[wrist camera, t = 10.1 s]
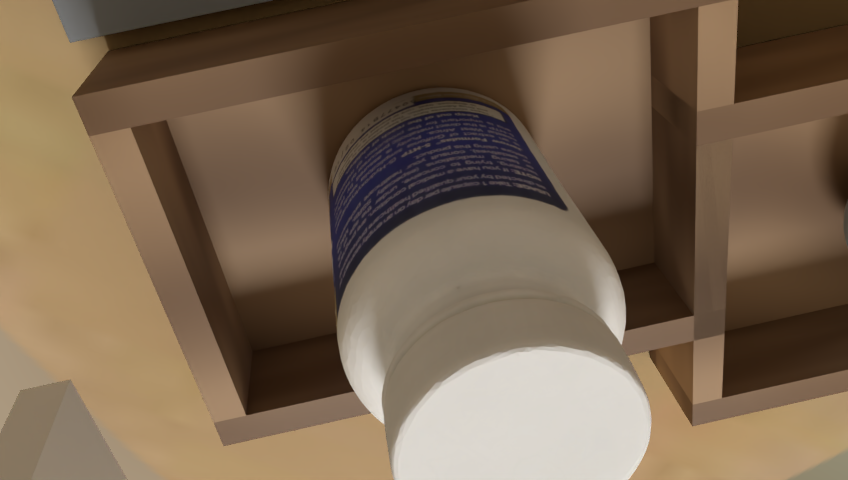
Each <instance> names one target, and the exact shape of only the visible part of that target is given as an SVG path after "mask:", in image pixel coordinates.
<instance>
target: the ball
mask: <svg viewBox="0 0 848 480" xmlns="http://www.w3.org/2000/svg"><path fill="white" fill-rule="evenodd" d="M843 227H844V235H845V240H846V244H847V247H848V201H847V203H846V206H845V211H844V223H843Z"/></svg>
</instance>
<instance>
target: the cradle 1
mask: <svg viewBox="0 0 848 480" xmlns="http://www.w3.org/2000/svg"><path fill="white" fill-rule="evenodd" d="M737 18H738V0H349V1H344V2H339V3H335V4H330V5H325V6H320V7H316V8H311V9H306V10H301V11H297V12H292V13H287V14H282V15H278V16H273V17H268V18H263V19H259V20H254V21H249V22H244V23H239V24H235V25H230V26H225V27H220V28H216V29H211V30H206V31H201V32H197V33H192V34H187V35H182V36H178V37H173V38H168V39H163V40H158V41H154V42H149V43H144V44H139V45H135V46H130V47H125V48H120V49H116V50H111V51H108V52H107V53H106V55H105V56H104V57H103V58H102V60H101V61H100V62H99V63H98V65H97V66H96V67H95V69H94V70H93V71H92V72H91V74H90V75H89V76H88V77H87V79H86V80H85V81H84V82H83V84H82V85H81V86H80V87H79V89H78V90H77V91H76V93H75V94H74V95H73V96H72V99H73V101H74V103H75V106H76V108H77V110H78V112H79V115H80V117H81V119H82V122H83V124H84V126H85V128H86V131H87V133H88V135H89V138H90V140H91V142H92V145H93V147H94V149H95V151H96V154H97V156H98V158H99V161H100V163H101V165H102V168H103V170H104V172H105V174H106V177H107V179H108V181H109V184H110V186H111V188H112V190H113V193H114V195H115V197H116V200H117V202H118V204H119V207H120V209H121V211H122V213H123V216H124V218H125V220H126V223H127V225H128V227H129V230H130V232H131V234H132V236H133V239H134V241H135V243H136V246H137V248H138V250H139V252H140V255H141V257H142V259H143V262H144V264H145V266H146V269H147V271H148V273H149V275H150V278H151V280H152V282H153V285H154V287H155V289H156V292H157V294H158V296H159V298H160V301H161V303H162V305H163V308H164V310H165V312H166V314H167V317H168V319H169V321H170V324H171V326H172V328H173V331H174V333H175V335H176V337H177V340H178V342H179V344H180V347H181V349H182V351H183V354H184V356H185V358H186V360H187V363H188V365H189V367H190V370H191V372H192V374H193V376H194V379H195V381H196V383H197V386H198V388H199V390H200V393H201V395H202V397H203V399H204V402H205V404H206V406H207V409H208V411H209V413H210V416H211V418H212V420H213V422H214V425H215V427H216V429H217V432H218V434H219V436H220V439H221V441H222V443H223V445H224V446H226V445H231V444H235V443H240V442H244V441H249V440H253V439H257V438H262V437H266V436H271V435H275V434H280V433H284V432H289V431H293V430H298V429H302V428H307V427H311V426H315V425H320V424H324V423H329V422H333V421H338V420H342V419H347V418H351V417H356V416H360V415H365V414H369V413H371V412H370V411H369V410H368V409H367V408H366V407H365V406H364V404H363V403H362V402H361V401H360V399H359V398H358V396H357V395H356V393H355V392H354V390H353V388H352V387H351V385H350V383H349V381H348V378H347V376H346V374H345V371H344V368H343V365H342V361H341V357H340V352H339V346H338V340H337V328H336V315H335V296H334V282H333V270H332V247H331V232H330V218H329V199H328V192H329V179H330V174H331V170H332V166H333V163H334V160H335V158H336V155H337V153H338V151H339V149H340V147H341V145H342V143H343V142H344V140H345V138H346V137H347V135H348V134H349V133H350V132H351V130H352V129H353V128H354V127H355V126H356V125H357V124H358V123H359V122H360V121H361V120H362V119H363V118H364V117H365V116H366V115H367V114H369V113H370V112H371V111H373V110H374V109H376V108H377V107H379V106H380V105H382V104H383V103H385V102H387V101H389V100H391V99H393V98H395V97H398V96H400V95H403V94H406V93H409V92H412V91H417V90H421V89H427V88H443V87H446V88H457V89H463V90H468V91H472V92H475V93H478V94H481V95H484V96H486V97H489V98H491V99H493V100H494V101H496V102H498V103H500V104H501V105H503V106H504V107H506V108H507V109H508V110H509V111H510V112H512V113H513V114H514V115H515V116H516V117H517V118H518V119H519V120H520V121H521V123H522V124H523V125H524V127H525V128H526V129H527V131H528V132H529V134H530V135H531V137H532V139H533V140H534V142H535V143H536V145H537V147H538V148H539V149H540V151H541V153H542V154H543V156H544V157H545V159H546V160H547V163H548V164H549V166H550V167H551V169H552V170H553V172H554V174H555V175H556V177H557V178H558V180H559V181H560V183H561V184H562V186H563V187H564V189H565V190H566V192H567V193H568V195H569V196H570V198H571V199H572V201H573V202H574V204H575V205H576V206H577V208H578V209H579V211H580V212H581V214H582V215H583V217H584V218H585V220H586V221H587V223H588V224H589V226H590V227H591V229H592V230H593V231H594V233H595V234H596V236H597V237H598V239H599V240H600V242H601V243H602V245H603V246H604V248H605V249H606V251H607V252H608V254H609V256H610V258H611V260H612V262H613V264H614V265H615V267H616V270H617V272H618V275H619V278H620V281H621V284H622V287H623V291H624V297H625V305H626V325H625V331H624V336H623V342H622V347H623V349H624V350H625V352H626V354H627V356H628V355H633V354H637V353H641V352H646V351H650V350H655V349H659V348H664V347H668V346H673V345H677V344H682V343H686V342H691V341H695V340H699V339H704V338H705V337H706V336H707V337H706V338H708V337H710V336H711V335H712V334H713V333H714V332H715V333H716V331H717V333H719V332H721V331H722V332H721V333H719V335H722V334H725V331H724V330H721V329H720V328H722V327H724V326H725V324H724V323H723V322H724V321H725V320H724V319H725V315H724V312H723V311H722V314H723V315H724V316H723V317H721V315H722V314H721V312H720V313H718V312H719V310H720V309H721V308H720V309H719V310H717V309H718V308H716V307H715V306H714V307H715V308H716V310H717V311H718V312H717V311H714V313H715V314H714V316H713V315H712V314H713V313H712V312H711V313H712V314H711V315H710V314H709V313H710V312H709V313H708V314H709V315H707V313H704V314H705V315H704V314H702V315H701V314H699V316H698V315H696V316H697V317H695V316H694V304H695V303H694V295H695V294H694V285H695V281H696V280H695V272H697V271H695V263H696V262H695V240H697V239H695V231H696V230H695V216H696V208H698V207H696V199H697V198H696V190H697V189H696V158H697V157H696V149H697V148H696V147H697V112H698V111H703V110H708V109H712V108H717V107H722V106H726V105H731V104H734V91H735V67H736V42H737ZM651 75H652V76H653V77H654V78H656V79H657V80H658V81H659V82H661V83H662V84H663V85H664V86H666V87H667V88H668V89H669V90H671V91H672V92H673V93H674V94H675V96H678V97H679V98H677V100H678V102H677V104H676V105H675V106H676V107H677V109H678V110H679V111H678V112H677V110H676V111H675V108H676V107H675V108H674V110H673V112H674V113H673V114H674V116H675V115H676V117H678V118H677V119H676V121H674V120H675V119H674V120H673V121H672V124H673V122H674V123H675V125H674V124H673V125H672V124H671V123H670V122H669V120H667V119H665V118H664V117H663V116H662V115H661V114H660V113H659V112H658V111H656V110H655V109H654V108H653V107H652V106H651ZM673 96H674V95H673ZM670 98H671V97H670ZM674 98H675V97H674ZM674 98H673V99H674ZM679 99H680V100H679ZM669 100H670V99H669ZM674 100H675V99H674ZM674 100H673V101H674ZM677 100H676V101H677ZM670 101H671V100H670ZM673 101H672V102H673ZM680 101H681V102H680ZM683 103H684V104H683ZM672 104H673V103H672ZM672 104H671V105H672ZM674 104H675V103H674ZM679 104H680V105H679ZM681 104H683V105H681ZM677 105H679V107H678V106H677ZM673 107H674V106H673ZM681 107H682V108H681ZM680 108H681V109H680ZM671 110H672V109H671ZM681 110H682V111H681ZM675 112H677V113H675ZM680 112H681V113H682V114H681V113H680ZM671 114H672V113H671ZM671 114H670V115H671ZM679 114H680V115H679ZM672 116H673V115H672ZM674 116H673V118H674ZM669 117H671V116H669ZM678 119H679V120H678ZM670 120H671V119H670ZM678 121H679V122H678ZM680 121H681V122H680ZM677 122H678V123H677ZM731 122H732V121H731ZM678 125H679V126H678ZM675 126H677V128H676V127H675ZM709 133H710V132H709ZM728 143H729V142H728ZM723 144H725V143H723ZM710 145H711V143H710ZM718 145H719V144H718ZM701 146H703V145H701ZM712 146H714V145H712ZM699 147H700V146H699ZM704 147H705V145H704ZM706 147H708V146H706ZM706 147H705V148H706ZM700 148H701V151H703V150H702V147H700ZM705 148H704V149H705ZM726 148H728V147H726ZM710 149H711V148H710ZM721 149H722V148H721ZM698 150H699V149H698ZM698 150H697V151H698ZM715 150H717V149H715ZM701 151H700V152H701ZM708 151H711V150H707V152H708ZM700 152H698V153H700ZM705 152H706V150H705V151H704V152H703V153H705ZM730 152H731V151H730ZM698 153H697V154H698ZM703 153H701V154H703ZM711 153H712V152H711ZM724 153H726V152H724ZM718 154H720V153H718ZM699 155H700V154H699ZM705 155H706V154H705ZM712 155H714V154H712ZM707 156H709V155H708V154H707ZM707 156H706V157H707ZM698 157H699V156H698ZM701 157H703V156H701ZM709 157H710V156H709ZM709 157H708V159H709ZM711 157H712V156H711ZM727 157H728V156H727ZM722 158H723V157H722ZM704 159H705V158H704ZM715 159H717V158H715ZM699 160H700V159H699ZM710 160H711V162H712V159H711V158H710ZM702 161H703V158H702ZM729 161H730V160H729ZM731 161H732V160H731ZM699 162H701V161H699ZM707 162H708V161H707ZM709 162H710V161H709ZM724 162H726V161H724ZM702 163H704V162H702ZM718 163H720V162H718ZM706 164H707V163H706ZM706 164H705V165H706ZM711 164H712V163H711ZM713 164H715V163H713ZM698 165H700V164H698ZM701 165H702V164H701ZM702 166H703V165H702ZM727 166H729V165H727ZM697 167H698V166H697ZM699 167H701V166H699ZM703 167H704V166H703ZM711 167H712V165H711ZM721 167H723V166H721ZM705 168H706V167H705ZM705 168H704V169H705ZM708 168H709V164H708ZM716 168H718V167H716ZM710 169H711V168H710ZM712 169H713V168H712ZM699 170H700V169H699ZM702 170H703V169H702ZM705 170H706V169H705ZM730 170H731V169H730ZM700 171H701V170H700ZM706 171H707V170H706ZM706 171H705V172H706ZM710 171H711V170H710ZM710 171H709V174H711V173H710ZM725 171H727V170H725ZM705 172H704V173H705ZM719 172H721V171H719ZM707 173H708V172H707ZM714 173H716V172H714ZM699 174H700V173H699ZM709 174H708V175H709ZM702 175H704V174H703V173H702ZM702 175H700V177H701V176H702ZM713 175H714V174H713ZM728 175H730V174H728ZM697 176H699V175H697ZM711 176H712V175H711ZM723 176H724V175H723ZM707 177H708V176H707ZM717 177H718V176H717ZM713 178H714V177H712V179H711V180H713ZM706 179H707V178H706ZM700 180H702V178H700ZM726 180H727V179H726ZM704 181H705V180H704ZM706 181H708V180H706ZM706 181H705V183H706ZM719 181H722V180H719ZM702 182H703V180H702ZM714 182H716V181H714ZM714 182H713V183H714ZM705 183H704V182H703V184H705ZM708 183H709V184H710V182H708ZM713 183H711V184H713ZM711 184H710V185H711ZM729 184H730V183H729ZM698 185H699V184H698ZM706 185H708V184H707V183H706ZM706 185H705V187H706ZM710 185H709V186H710ZM723 185H725V184H723ZM717 186H719V185H717ZM703 187H704V186H703ZM711 187H714V186H711ZM706 188H708V187H706ZM702 189H703V188H702V186H701V190H702ZM704 189H705V188H704ZM709 189H710V188H709ZM709 189H708V190H709ZM713 189H714V188H713ZM727 189H728V188H727ZM720 190H722V189H720ZM704 191H705V190H704ZM711 191H712V190H710V191H708V192H709V193H711ZM715 191H717V190H714V192H715ZM714 192H713V193H714ZM703 193H706V192H703ZM709 193H708V195H709ZM698 194H700V193H698ZM723 194H725V193H723ZM701 195H702V194H701ZM714 195H715V194H714ZM714 195H712V196H714ZM718 195H720V194H718ZM710 196H711V195H710ZM710 196H707V198H708V197H710ZM703 197H704V196H703ZM705 197H706V196H705ZM705 197H704V198H705ZM701 198H702V197H701ZM726 198H729V197H726ZM710 199H711V198H710ZM714 199H715V198H714ZM721 199H723V198H721ZM716 200H717V199H716ZM716 200H715V201H716ZM702 201H703V200H702ZM707 201H708V202H709V200H707ZM710 201H711V200H710ZM712 201H713V200H712ZM712 201H711V202H710V205H712V204H713V203H714V201H713V203H712ZM704 202H705V200H704V201H703V202H702V203H704ZM729 202H730V201H729ZM698 203H700V202H698ZM711 203H712V204H711ZM724 203H726V202H724ZM704 204H705V203H704ZM707 204H708V203H707ZM719 204H720V203H719ZM702 205H703V204H702ZM714 205H716V203H715V204H714ZM703 206H704V205H703ZM703 206H702V207H703ZM708 206H709V205H708ZM705 207H706V206H705ZM713 207H715V206H712V208H713ZM727 207H729V206H727ZM709 208H710V207H709ZM709 208H708V209H709ZM722 208H724V207H722ZM705 209H706V208H705ZM715 209H716V207H715ZM703 210H704V209H703ZM706 210H707V209H706ZM709 210H712V209H709ZM713 210H714V209H713ZM704 211H705V210H704ZM699 212H701V211H699ZM712 212H713V211H711V212H710V213H712ZM714 212H715V211H714ZM725 212H726V211H725ZM719 213H721V212H719ZM703 214H704V212H703ZM713 214H715V213H713ZM705 215H706V212H705ZM705 215H702V216H705ZM708 215H710V214H709V212H708ZM708 215H707V216H708ZM711 216H713V215H711ZM714 216H715V215H714ZM714 216H713V217H714ZM728 216H729V215H728ZM697 217H699V216H697ZM713 217H712V218H711V217H710V218H711V219H713ZM722 217H724V216H722ZM706 218H707V217H706ZM716 218H718V217H716ZM704 220H705V218H704ZM706 220H707V219H706ZM700 221H702V220H700ZM710 221H711V222H712V220H710ZM725 221H727V220H725ZM706 222H707V221H706ZM708 222H709V220H708ZM708 222H707V223H708ZM711 222H710V223H711ZM716 222H718V220H717V221H716ZM716 222H714V223H715V224H716ZM719 222H721V221H719ZM704 223H705V222H704ZM710 223H708V224H710ZM705 224H706V223H705ZM705 224H703V225H704V226H705ZM712 224H713V223H712ZM717 225H718V224H717ZM728 225H729V224H728ZM697 226H699V225H697ZM715 226H716V225H715ZM715 226H712V228H713V229H714V227H715ZM723 226H725V225H723ZM709 227H710V225H709ZM717 227H719V226H717ZM705 228H706V227H705ZM712 228H711V229H712ZM715 228H716V227H715ZM706 229H707V228H706ZM708 229H710V228H708ZM713 229H712V230H713ZM700 230H702V229H700ZM726 230H728V229H726ZM709 231H711V230H709ZM715 231H716V230H715ZM715 231H714V232H715ZM717 231H719V230H717ZM717 231H716V233H717ZM720 231H722V230H720ZM711 233H712V234H713V232H711ZM718 233H719V232H718ZM703 234H705V233H703ZM707 234H708V233H707ZM709 234H710V232H709ZM714 234H715V233H714ZM698 235H700V234H698ZM724 235H725V234H724ZM715 236H716V235H715ZM718 236H719V234H718ZM708 237H709V236H708ZM708 237H707V238H708ZM711 237H714V236H713V235H712V236H711ZM711 237H710V238H711ZM710 238H709V239H710ZM714 238H715V237H714ZM714 238H712V239H713V240H714ZM701 239H703V238H701ZM717 239H718V238H717ZM727 239H728V238H727ZM721 240H722V239H721ZM715 241H717V240H715ZM718 241H719V239H718ZM718 241H717V242H718ZM706 242H707V240H706ZM706 242H704V243H706ZM710 242H711V241H710ZM719 242H720V241H719ZM712 243H713V241H712ZM698 244H700V243H698ZM715 244H716V243H715ZM724 244H725V243H724ZM707 245H708V243H707ZM709 245H710V244H709ZM711 245H712V244H711ZM716 245H717V244H716ZM718 245H719V246H720V244H718ZM718 245H717V246H718ZM713 246H715V245H713ZM717 246H715V247H717ZM719 246H718V247H719ZM707 247H709V246H707ZM702 248H704V247H702ZM711 248H712V247H711ZM727 248H728V247H727ZM696 249H697V248H696ZM709 249H710V248H709ZM716 249H717V250H718V248H716ZM721 249H723V248H721ZM707 250H708V249H707ZM708 251H709V250H708ZM711 251H713V249H712V250H710V252H711ZM705 252H707V251H705ZM699 253H700V252H699ZM713 253H714V252H713ZM713 253H712V254H713ZM716 253H717V252H716ZM716 253H715V254H716ZM724 253H726V252H724ZM708 254H709V253H708ZM712 254H710V255H712ZM715 254H713V255H714V256H716V257H718V256H717V255H719V254H721V253H720V251H719V254H716V255H715ZM702 257H704V256H702ZM708 257H710V256H709V255H708ZM727 257H728V256H727ZM696 258H698V257H696ZM712 258H713V259H714V257H712ZM722 258H724V257H722ZM708 259H709V258H708ZM713 259H711V260H713ZM718 259H719V257H718V258H717V259H716V260H718ZM714 260H715V259H714ZM705 261H707V260H705ZM709 261H710V260H709ZM700 262H701V261H700ZM712 262H713V261H712ZM712 262H711V263H712ZM725 262H727V261H725ZM713 263H714V264H715V262H713ZM717 263H720V265H721V262H719V261H718V262H717ZM708 265H709V264H708ZM712 265H713V264H712ZM703 266H704V265H703ZM714 266H715V265H713V267H714ZM721 266H722V265H721ZM721 266H720V267H721ZM697 267H699V266H697ZM718 267H719V266H716V268H718ZM720 267H719V269H720ZM722 267H725V266H722ZM716 268H715V269H716ZM712 269H713V268H712ZM715 269H714V270H715ZM706 270H708V269H706ZM714 270H713V272H715V271H714ZM720 270H722V269H720ZM700 271H702V270H700ZM726 271H727V270H726ZM719 272H721V271H719ZM715 273H716V272H715ZM710 274H711V273H709V275H710ZM703 275H706V274H703ZM715 275H718V273H717V274H715ZM698 276H700V275H698ZM723 276H725V275H723ZM717 277H721V276H717ZM712 278H714V277H712ZM715 278H716V277H715ZM706 279H709V278H706ZM721 279H722V277H721ZM701 280H703V279H701ZM711 280H712V279H711ZM711 280H710V281H711ZM713 280H714V279H713ZM715 280H716V279H715ZM717 280H718V279H717ZM726 280H727V279H726ZM722 281H723V279H722V280H721V283H722ZM713 282H714V281H713ZM715 282H716V283H717V281H715ZM711 283H712V282H711ZM716 283H714V284H716ZM719 283H720V282H719ZM719 283H718V284H719ZM704 284H705V283H704ZM714 284H713V285H714ZM698 285H699V284H698ZM710 285H711V284H710ZM724 285H726V284H724ZM711 286H712V285H711ZM718 286H719V285H718ZM718 286H717V287H716V288H719V287H718ZM720 286H721V287H722V284H720ZM714 287H715V286H714ZM714 287H712V288H714ZM707 288H708V287H707ZM701 289H703V288H701ZM723 289H724V288H723ZM723 289H722V290H723ZM696 290H697V289H696ZM718 290H720V289H718ZM716 291H717V289H716ZM710 292H712V289H711V291H710ZM719 292H720V291H719ZM705 293H706V292H705ZM715 293H716V292H715ZM699 294H701V293H699ZM713 294H714V292H713ZM724 294H726V293H724ZM724 294H723V295H724ZM716 295H717V293H716ZM719 295H720V294H719ZM721 295H722V292H721ZM723 295H722V298H721V299H723ZM713 296H715V294H714V295H713ZM707 297H709V296H707ZM702 298H704V297H702ZM716 298H717V296H716ZM718 298H720V297H718ZM696 299H697V298H696ZM698 299H699V298H698ZM713 299H715V298H713ZM716 300H718V299H716ZM716 300H715V301H716ZM723 300H724V299H723ZM711 301H713V300H711ZM718 301H719V303H718V302H717V301H716V302H717V303H718V304H722V303H720V300H718ZM705 302H707V301H705ZM713 302H714V301H713ZM724 302H725V301H724ZM700 303H702V302H700ZM714 303H715V302H714ZM725 303H726V302H725ZM723 304H724V303H723ZM712 305H713V304H712ZM714 305H715V304H714ZM708 306H710V305H708ZM716 306H717V305H716ZM718 306H720V305H718ZM702 307H705V306H702ZM714 307H713V309H714ZM722 307H723V308H724V306H722ZM697 308H698V307H697ZM713 309H711V310H713ZM721 310H723V309H721ZM721 310H720V311H721ZM724 310H725V309H724ZM706 311H708V310H706ZM700 312H701V311H700ZM716 312H717V313H716ZM695 313H696V312H695ZM716 314H717V315H716ZM703 315H704V316H705V317H704V316H703ZM715 315H716V316H717V317H715ZM702 316H703V319H704V318H706V317H707V318H706V319H704V320H703V319H702ZM718 316H719V317H718ZM709 317H710V318H711V319H712V321H711V322H712V323H711V322H710V320H711V319H710V318H709ZM712 317H713V318H712ZM698 318H699V320H700V321H701V322H700V321H697V320H695V319H698ZM708 318H709V319H708ZM718 318H719V319H720V321H721V320H722V321H721V322H722V323H723V326H722V324H721V322H720V321H719V322H720V324H721V326H720V325H719V322H718V321H717V320H718ZM714 319H715V321H714V323H713V320H714ZM716 319H717V320H716ZM707 320H708V321H707ZM694 321H695V322H698V323H700V324H701V323H703V322H704V323H703V324H704V325H702V326H700V325H699V324H698V323H697V324H698V325H697V324H696V323H695V322H694ZM705 321H706V322H705ZM716 321H717V322H716ZM708 322H709V324H708ZM694 323H695V324H696V325H697V326H696V325H694ZM705 323H707V324H705ZM716 323H718V325H719V326H718V325H717V324H716ZM710 324H711V326H712V325H713V327H712V328H709V327H711V326H710ZM706 325H707V326H708V325H709V327H707V326H706ZM716 325H717V326H718V327H717V326H716ZM699 326H700V327H701V328H702V327H703V328H704V329H703V328H702V329H701V328H700V327H699ZM695 327H697V328H698V327H699V328H698V330H696V329H697V328H695ZM705 327H707V328H706V329H707V333H708V330H709V331H710V330H711V329H712V330H713V331H714V330H715V329H716V328H717V329H716V331H714V332H713V331H712V330H711V331H710V332H709V333H712V334H709V333H708V334H707V333H704V334H702V333H703V332H705V331H704V330H705ZM694 328H695V329H694ZM718 328H719V329H720V330H721V331H720V330H719V329H718ZM699 329H700V330H699ZM695 330H696V331H695ZM694 331H695V332H697V331H698V332H701V334H700V333H698V332H697V333H698V334H699V335H700V336H699V335H698V334H697V335H695V337H696V336H698V338H699V339H698V338H697V337H696V338H697V339H696V338H695V337H694V334H696V333H694ZM702 331H703V332H702ZM723 331H724V332H723ZM715 333H714V334H715ZM717 333H716V334H717ZM705 334H707V335H706V336H705V337H704V338H703V337H702V336H704V335H705ZM716 334H715V335H716ZM709 335H710V336H709ZM715 335H712V336H715ZM717 335H718V334H717ZM717 335H716V336H717ZM712 336H711V337H712ZM700 337H702V338H700ZM694 338H695V339H694Z"/></svg>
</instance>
